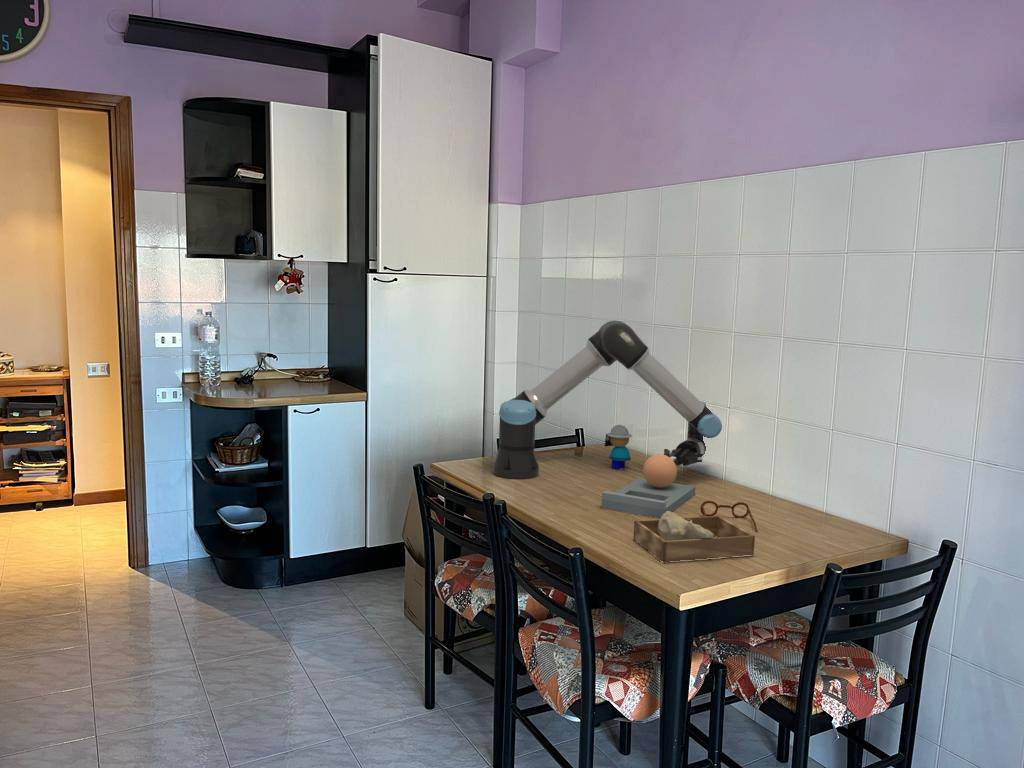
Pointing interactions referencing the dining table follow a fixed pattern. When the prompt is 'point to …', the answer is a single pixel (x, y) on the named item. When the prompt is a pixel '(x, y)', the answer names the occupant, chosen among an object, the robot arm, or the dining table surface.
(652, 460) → the ball
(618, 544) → the dining table surface
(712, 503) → the glasses
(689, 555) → the wooden tray
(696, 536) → the beige irregular lump
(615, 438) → the toy
